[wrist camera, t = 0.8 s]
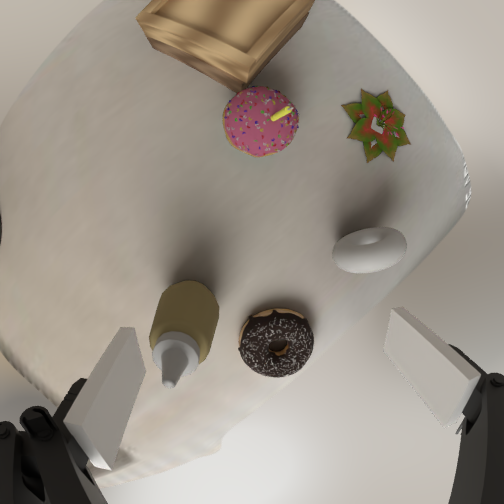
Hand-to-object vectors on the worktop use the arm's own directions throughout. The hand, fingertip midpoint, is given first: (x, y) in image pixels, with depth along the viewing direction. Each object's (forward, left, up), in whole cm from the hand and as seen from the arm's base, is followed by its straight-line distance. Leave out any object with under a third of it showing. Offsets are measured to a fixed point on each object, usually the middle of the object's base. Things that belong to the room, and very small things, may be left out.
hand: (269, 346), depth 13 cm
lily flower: (+6, +25, -26) cm, 36 cm away
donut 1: (+13, -10, -25) cm, 30 cm away
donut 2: (+13, +9, -25) cm, 30 cm away
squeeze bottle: (-1, -11, -25) cm, 27 cm away
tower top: (-19, +23, -20) cm, 36 cm away
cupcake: (-7, +13, -25) cm, 29 cm away
